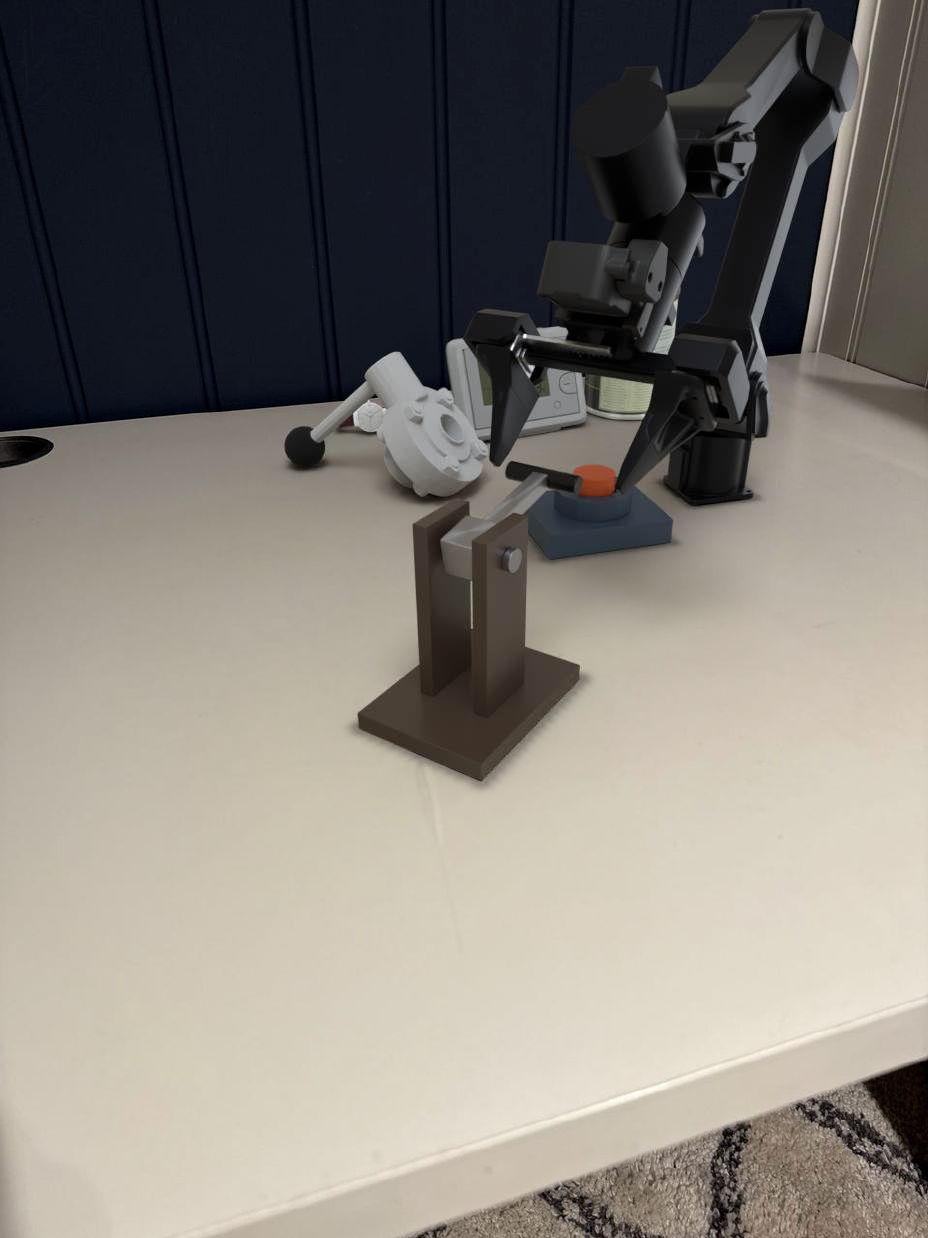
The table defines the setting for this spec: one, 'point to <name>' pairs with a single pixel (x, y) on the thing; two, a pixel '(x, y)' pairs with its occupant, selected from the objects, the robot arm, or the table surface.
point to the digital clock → (557, 390)
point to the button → (596, 480)
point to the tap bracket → (470, 653)
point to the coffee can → (625, 387)
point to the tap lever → (502, 512)
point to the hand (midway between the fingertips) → (554, 477)
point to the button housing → (596, 523)
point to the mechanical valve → (405, 431)
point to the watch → (366, 417)
